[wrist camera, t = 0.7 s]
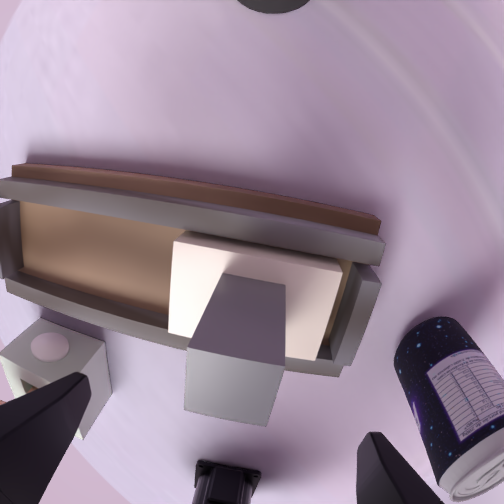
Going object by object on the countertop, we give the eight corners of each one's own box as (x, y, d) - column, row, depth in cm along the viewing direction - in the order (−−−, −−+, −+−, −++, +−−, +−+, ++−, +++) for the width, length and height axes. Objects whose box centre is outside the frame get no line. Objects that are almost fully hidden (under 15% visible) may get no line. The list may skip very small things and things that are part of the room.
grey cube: (112, 393, 24) (83, 440, 18) (51, 368, 24) (18, 406, 18) (104, 337, 22) (65, 385, 16) (39, 313, 22) (-4, 349, 16)
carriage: (312, 340, 18) (323, 449, 10) (178, 314, 18) (123, 409, 10) (336, 258, 16) (374, 348, 8) (186, 230, 16) (112, 297, 9)
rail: (329, 357, 20) (336, 397, 16) (31, 285, 21) (0, 306, 17) (373, 215, 17) (396, 233, 13) (25, 163, 18) (-13, 170, 14)
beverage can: (375, 352, 20) (423, 501, 8) (434, 295, 18) (531, 422, 7) (417, 384, 20) (465, 508, 9) (469, 335, 19) (547, 446, 7)
